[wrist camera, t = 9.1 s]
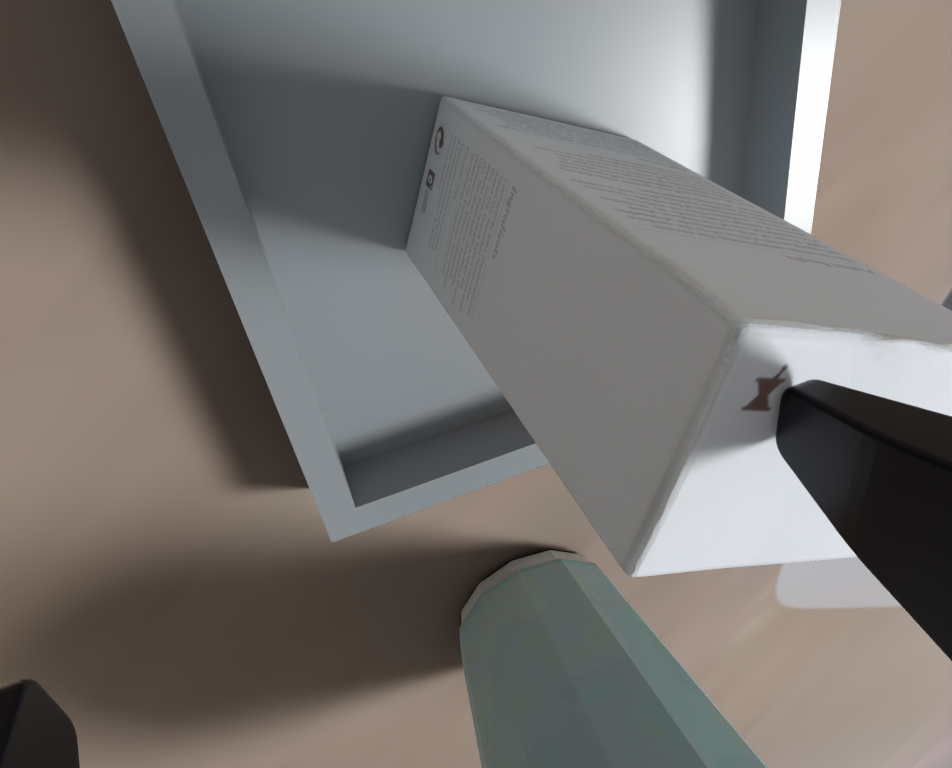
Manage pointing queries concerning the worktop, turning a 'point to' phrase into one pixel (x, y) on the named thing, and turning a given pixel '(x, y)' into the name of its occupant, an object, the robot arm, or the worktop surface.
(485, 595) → the disposable coffee cup
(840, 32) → the worktop surface
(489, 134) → the skincare box
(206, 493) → the worktop surface
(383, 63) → the tray
